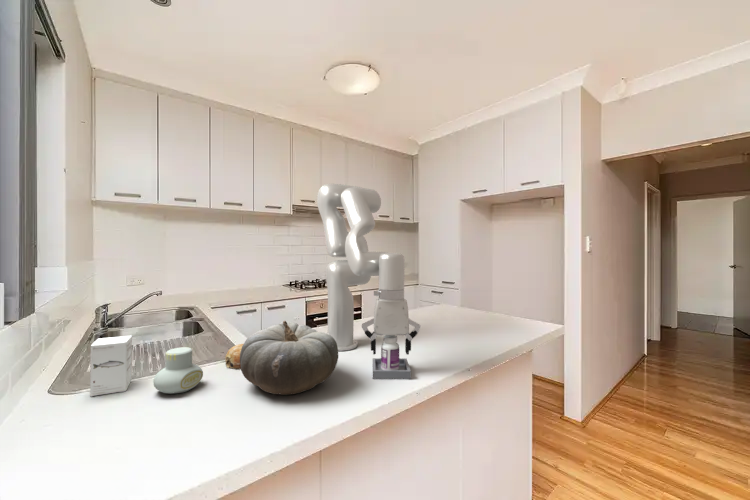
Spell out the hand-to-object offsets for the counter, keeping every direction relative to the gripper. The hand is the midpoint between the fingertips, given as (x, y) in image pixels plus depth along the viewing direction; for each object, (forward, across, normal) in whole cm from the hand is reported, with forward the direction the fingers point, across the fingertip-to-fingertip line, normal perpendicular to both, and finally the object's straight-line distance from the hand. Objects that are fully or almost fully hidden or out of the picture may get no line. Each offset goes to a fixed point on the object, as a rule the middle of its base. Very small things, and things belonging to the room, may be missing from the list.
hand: (390, 353), depth 98 cm
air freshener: (+6, -55, -12) cm, 57 cm away
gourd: (+6, -27, -8) cm, 29 cm away
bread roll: (+6, -46, +7) cm, 47 cm away
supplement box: (+6, -72, -12) cm, 73 cm away
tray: (+6, 0, 0) cm, 6 cm away
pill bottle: (+5, 0, 0) cm, 5 cm away
